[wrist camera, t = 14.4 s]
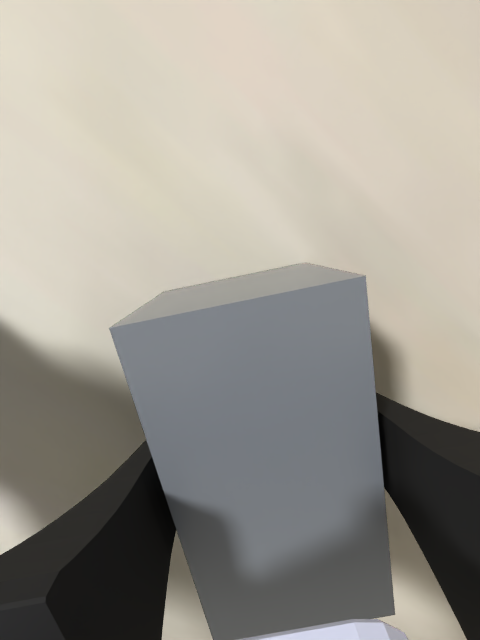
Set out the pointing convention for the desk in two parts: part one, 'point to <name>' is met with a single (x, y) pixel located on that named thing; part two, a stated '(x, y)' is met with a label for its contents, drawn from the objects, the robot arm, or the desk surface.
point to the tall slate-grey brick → (267, 444)
